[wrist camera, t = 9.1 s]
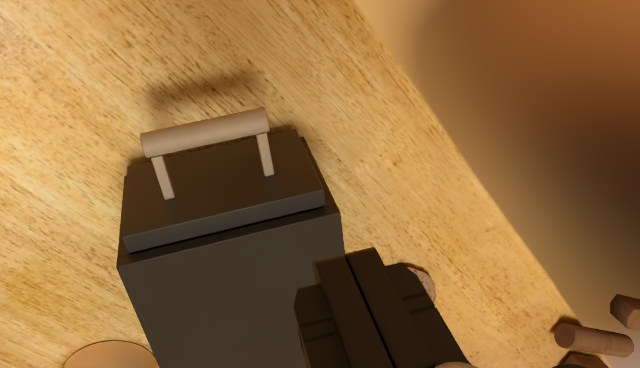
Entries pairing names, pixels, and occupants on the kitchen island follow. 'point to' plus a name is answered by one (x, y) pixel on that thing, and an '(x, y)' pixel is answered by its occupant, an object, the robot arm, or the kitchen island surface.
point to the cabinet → (231, 289)
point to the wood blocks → (601, 335)
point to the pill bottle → (112, 356)
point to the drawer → (216, 181)
